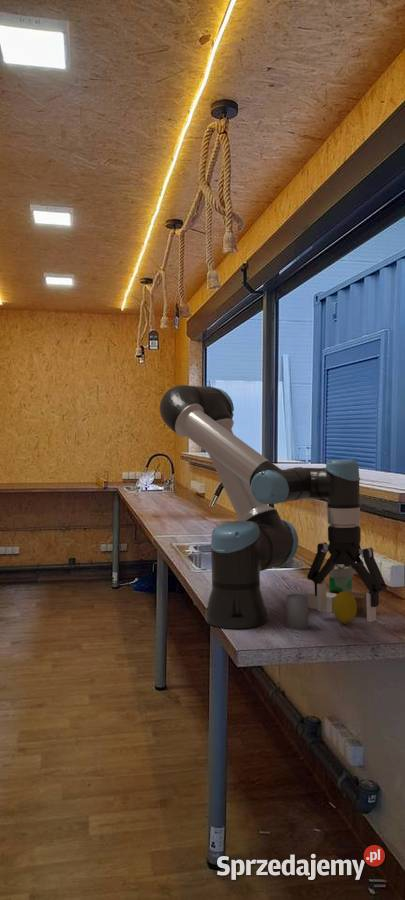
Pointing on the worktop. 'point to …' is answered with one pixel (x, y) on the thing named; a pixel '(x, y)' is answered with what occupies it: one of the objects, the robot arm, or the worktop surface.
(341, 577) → the food container
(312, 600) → the off-white brick
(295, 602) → the slate cylinder
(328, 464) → the robot arm
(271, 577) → the worktop surface
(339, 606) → the lemon
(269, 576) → the worktop surface
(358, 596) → the walnut cube
